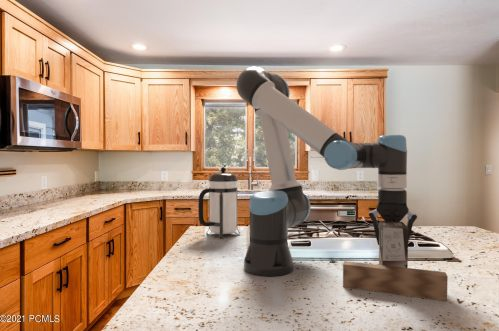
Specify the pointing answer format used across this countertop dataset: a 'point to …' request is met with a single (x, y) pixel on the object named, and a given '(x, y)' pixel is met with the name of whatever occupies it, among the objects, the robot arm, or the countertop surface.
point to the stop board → (395, 280)
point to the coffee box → (393, 244)
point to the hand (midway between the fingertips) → (392, 270)
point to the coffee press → (221, 204)
